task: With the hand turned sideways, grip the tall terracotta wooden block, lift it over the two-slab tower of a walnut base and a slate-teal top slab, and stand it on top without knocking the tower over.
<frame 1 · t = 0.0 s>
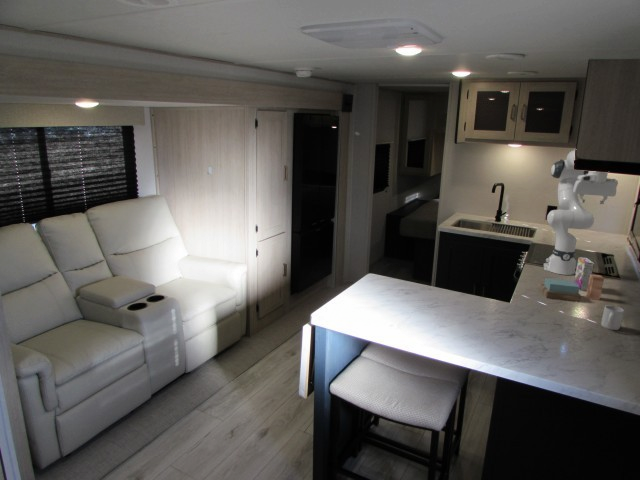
hand: (591, 203, 246), 48 cm above the counter, tool pointing down, fingers open, 8 cm apart
terracotta block: (592, 297, 243), on the counter
tower top: (560, 289, 243), point 3 cm above the counter, touching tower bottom
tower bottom: (559, 296, 243), on the counter, touching tower top
candy bar box: (580, 288, 258), on the counter
cup: (609, 328, 205), on the counter
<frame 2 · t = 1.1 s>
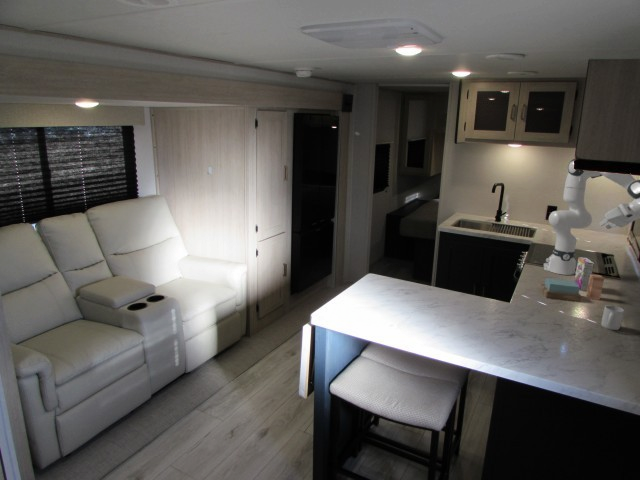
hand: (603, 226, 238), 38 cm above the counter, tool tilted 50°, fingers open, 8 cm apart
tower top: (560, 289, 242), point 3 cm above the counter
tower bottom: (559, 296, 243), on the counter
everything else where it was.
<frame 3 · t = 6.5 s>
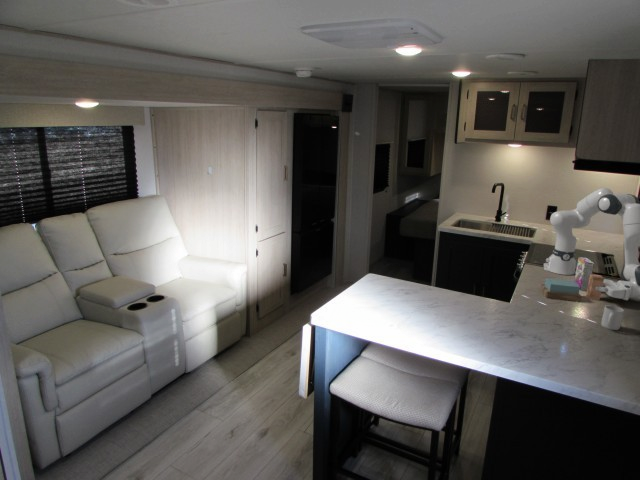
hand: (593, 285, 241), 7 cm above the counter, tool horizontal, fingers closed on terracotta block, 5 cm apart
terracotta block: (592, 297, 243), on the counter, touching gripper
everything else where it was.
when the fingers open (16 cm above the counter, at t = 13.0 s): terracotta block drops 2 cm, resting on tower top.
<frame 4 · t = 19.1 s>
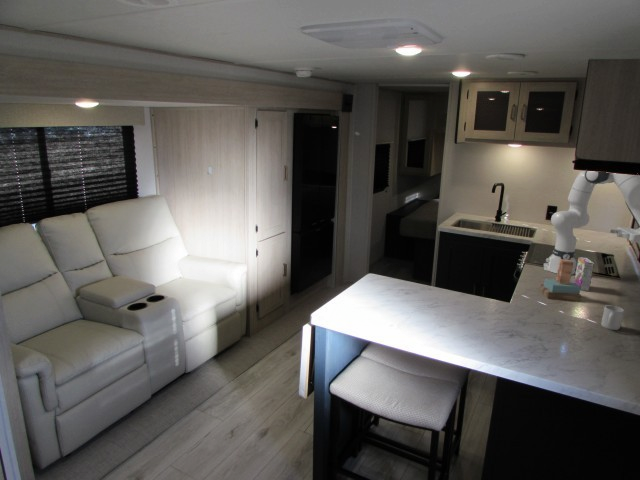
hand: (613, 233, 237), 35 cm above the counter, tool horizontal, fingers open, 8 cm apart
terracotta block: (562, 282, 241), point 7 cm above the counter, touching tower top
tower top: (561, 289, 242), point 3 cm above the counter, touching terracotta block, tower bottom
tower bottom: (559, 296, 243), on the counter, touching tower top
everything else where it was.
at the end: terracotta block 0.2 cm off-centre on the tower top, point 4.1 cm above the tower top's base; terracotta block tilted 2°; tower top moved 0.7 cm from its start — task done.
